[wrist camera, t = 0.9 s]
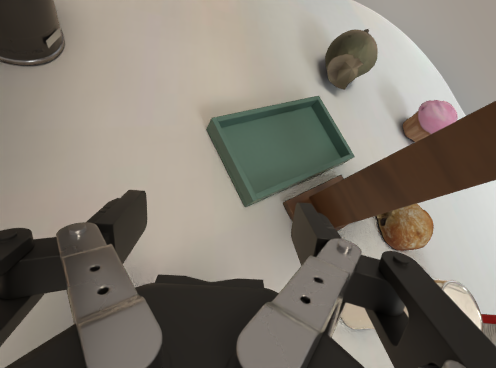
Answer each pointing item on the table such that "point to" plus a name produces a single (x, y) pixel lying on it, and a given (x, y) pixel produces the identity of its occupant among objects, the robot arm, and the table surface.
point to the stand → (411, 173)
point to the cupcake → (429, 119)
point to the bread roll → (406, 227)
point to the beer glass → (360, 319)
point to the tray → (277, 146)
